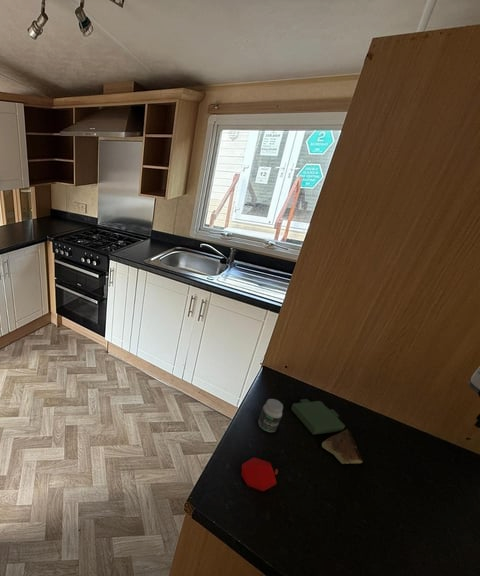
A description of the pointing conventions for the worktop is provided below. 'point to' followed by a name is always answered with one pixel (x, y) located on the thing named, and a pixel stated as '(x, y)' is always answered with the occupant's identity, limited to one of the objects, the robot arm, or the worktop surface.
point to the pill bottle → (270, 415)
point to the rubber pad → (317, 417)
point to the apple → (258, 474)
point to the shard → (343, 447)
